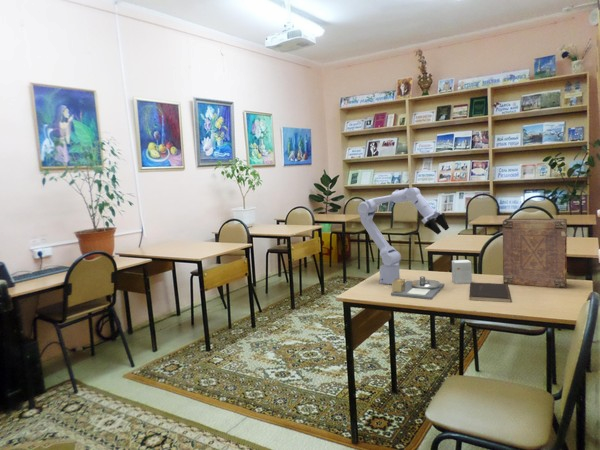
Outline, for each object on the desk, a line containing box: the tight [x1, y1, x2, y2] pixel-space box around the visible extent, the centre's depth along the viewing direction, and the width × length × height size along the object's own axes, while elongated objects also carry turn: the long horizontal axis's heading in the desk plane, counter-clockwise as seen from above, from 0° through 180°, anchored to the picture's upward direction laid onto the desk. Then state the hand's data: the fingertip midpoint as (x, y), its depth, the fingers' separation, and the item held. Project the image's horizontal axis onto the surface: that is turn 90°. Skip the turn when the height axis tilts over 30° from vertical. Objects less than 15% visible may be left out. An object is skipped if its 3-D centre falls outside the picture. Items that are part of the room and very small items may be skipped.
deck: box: [390, 280, 445, 300], centre depth 197 cm, size 18×24×1 cm
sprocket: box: [411, 276, 440, 289], centre depth 200 cm, size 13×13×5 cm
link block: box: [391, 278, 406, 293], centre depth 195 cm, size 4×6×5 cm, turn 149°
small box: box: [451, 259, 473, 285], centre depth 207 cm, size 8×6×10 cm
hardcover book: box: [469, 281, 513, 303], centre depth 186 cm, size 16×23×2 cm
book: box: [502, 218, 568, 290], centre depth 195 cm, size 25×9×30 cm, turn 58°
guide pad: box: [407, 288, 430, 296], centre depth 191 cm, size 8×9×1 cm
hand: (443, 231), depth 194 cm, fingers open, 7 cm apart
